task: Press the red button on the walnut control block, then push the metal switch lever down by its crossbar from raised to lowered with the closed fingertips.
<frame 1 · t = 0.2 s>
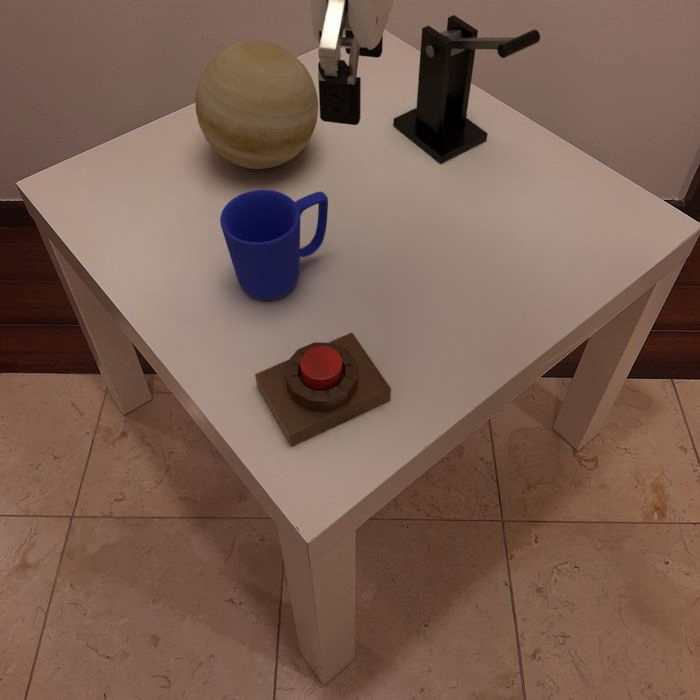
hand: (352, 86, 63), 26 cm above the table, tool pointing down, fingers open, 9 cm apart
mug: (284, 275, 85), on the table
switch bracket: (439, 133, 100), on the table
switch lever: (479, 43, 85), point 15 cm above the table, hinge at 25.0°
decorative ball: (263, 156, 97), on the table
button block: (323, 393, 75), on the table
power button: (321, 367, 71), point 4 cm above the table, slide at 0.1 cm
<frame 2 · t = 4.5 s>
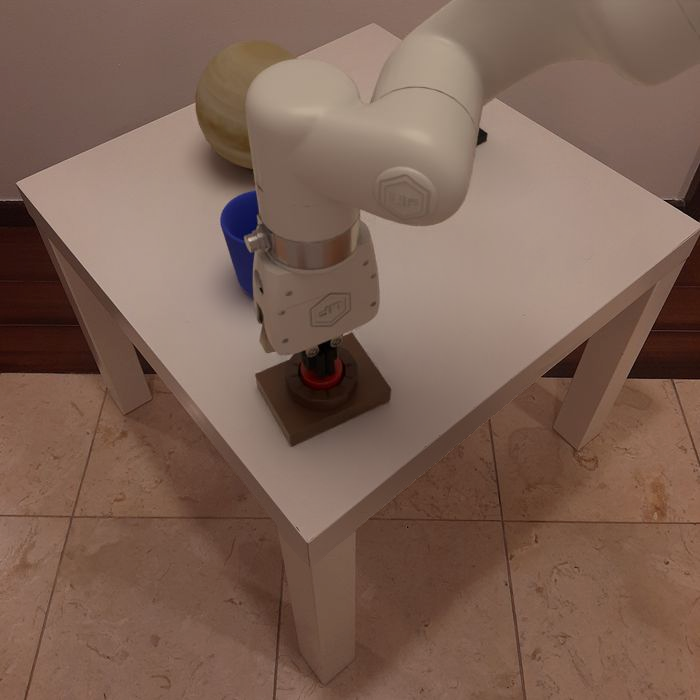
hand: (319, 366, 71), 5 cm above the table, tool pointing down, fingers closed
power button: (321, 371, 72), point 4 cm above the table, slide at -0.6 cm, touching gripper
everything else where it was.
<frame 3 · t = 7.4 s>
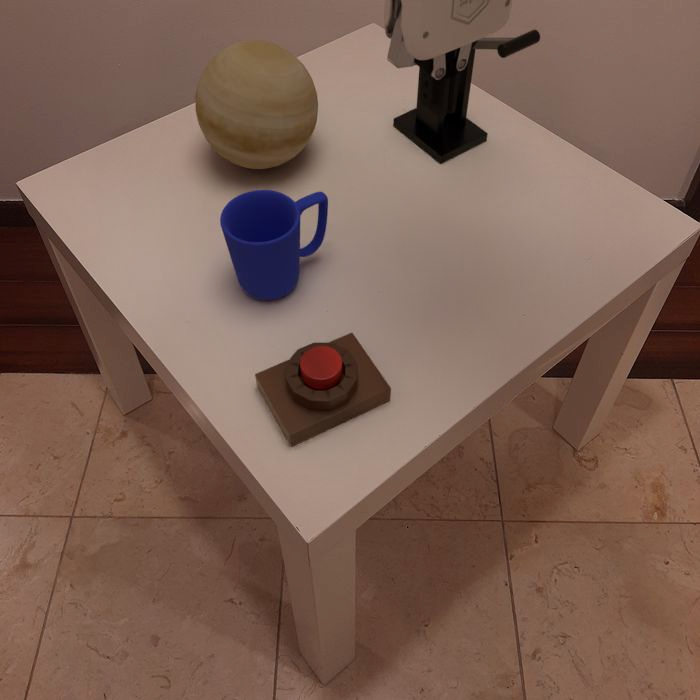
hand: (437, 107, 67), 22 cm above the table, tool pointing down, fingers closed
power button: (321, 367, 71), point 4 cm above the table, slide at 0.1 cm
everything else where it was.
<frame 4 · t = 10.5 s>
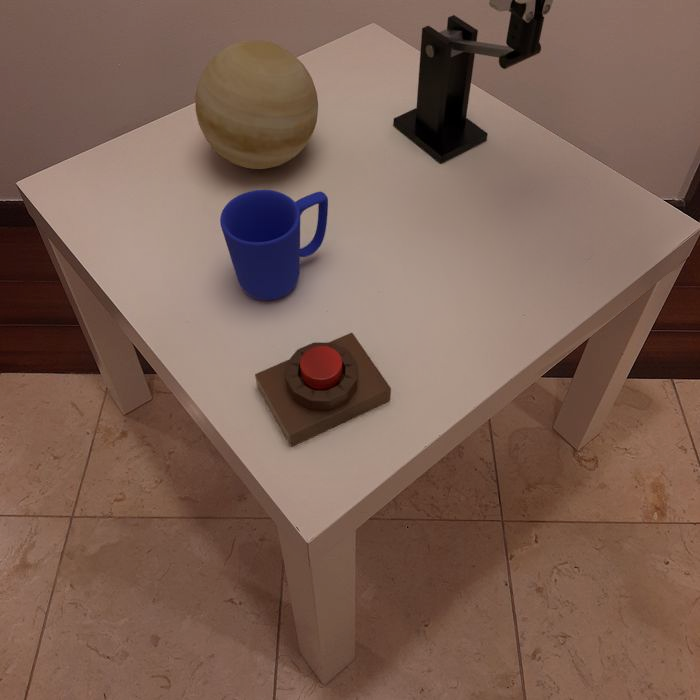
hand: (521, 48, 80), 18 cm above the table, tool pointing down, fingers closed
switch lever: (480, 48, 85), point 15 cm above the table, hinge at 19.4°
everything else where it was.
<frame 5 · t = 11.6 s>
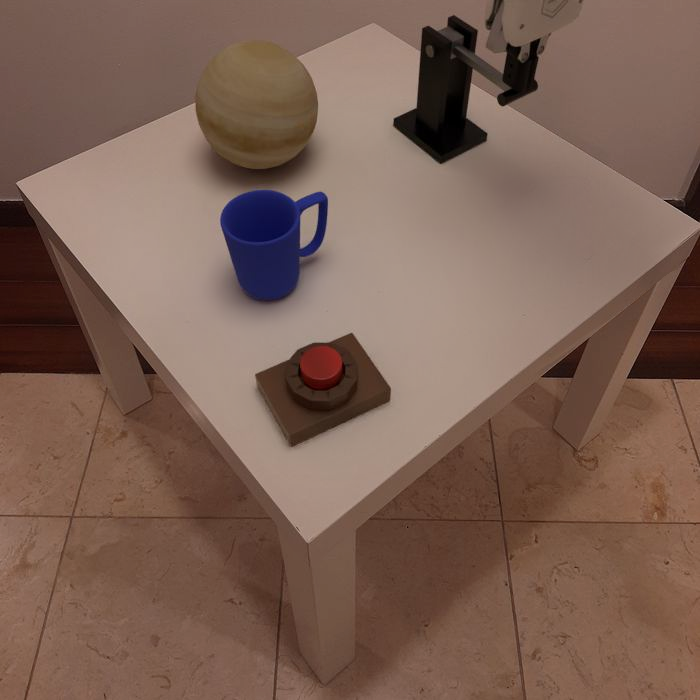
hand: (516, 85, 83), 13 cm above the table, tool pointing down, fingers closed
switch lever: (480, 65, 87), point 13 cm above the table, hinge at -1.5°, touching gripper
everything else where it was.
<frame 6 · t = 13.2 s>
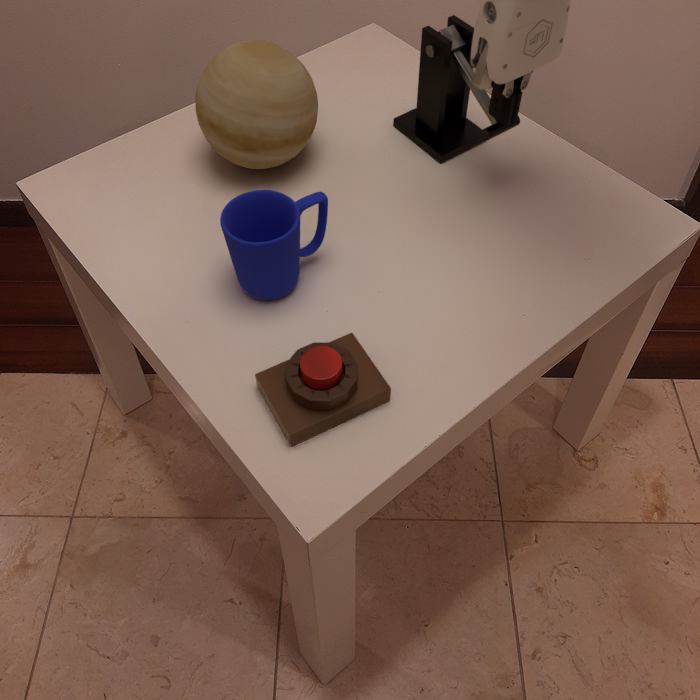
hand: (502, 117, 88), 8 cm above the table, tool pointing down, fingers closed
switch lever: (473, 82, 89), point 10 cm above the table, hinge at -29.1°, touching gripper
everything else where it was.
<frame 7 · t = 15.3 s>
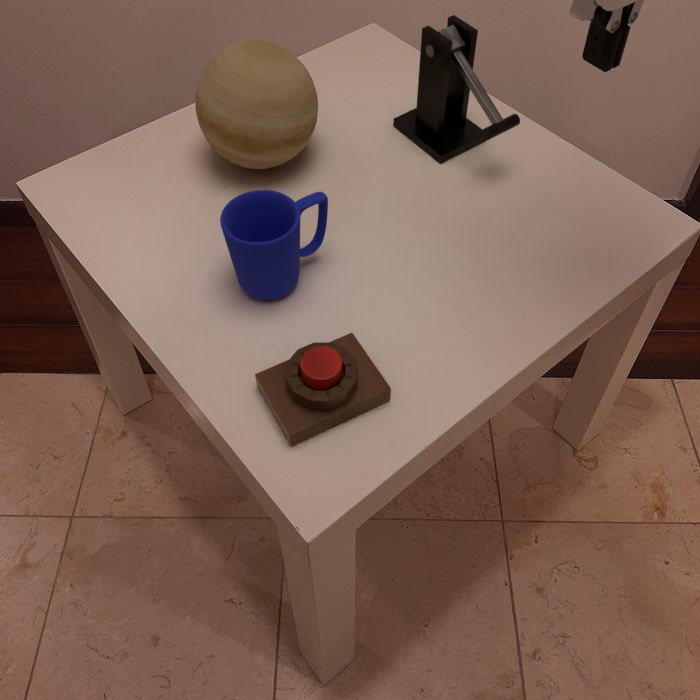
hand: (600, 62, 69), 23 cm above the table, tool pointing down, fingers closed
switch lever: (473, 82, 89), point 10 cm above the table, hinge at -29.1°
everything else where it was.
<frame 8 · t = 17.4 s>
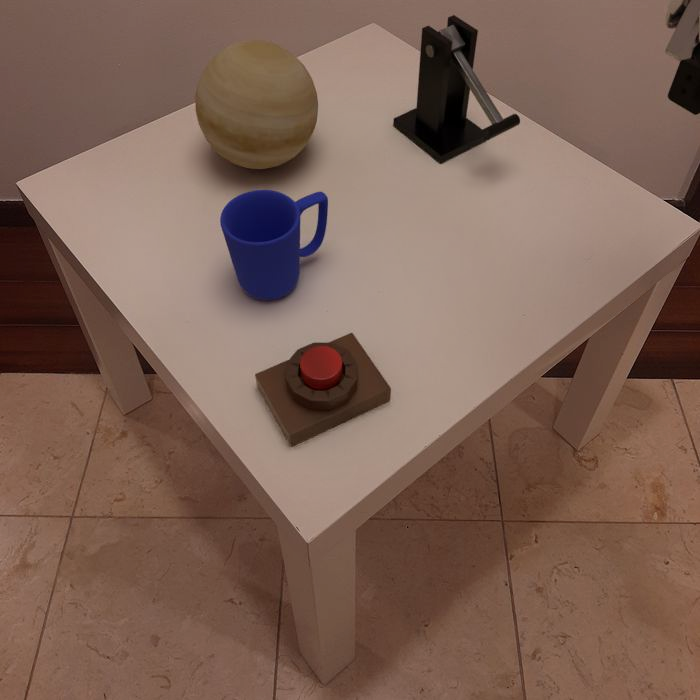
hand: (688, 103, 62), 25 cm above the table, tool pointing down, fingers closed
nothing on the table moved.
at the end: power button pushed in 1.0 cm at the most during the clip, back to where it started at the end; power button slide at 0.1 cm; switch lever at -29° (first picture: +25°) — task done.
